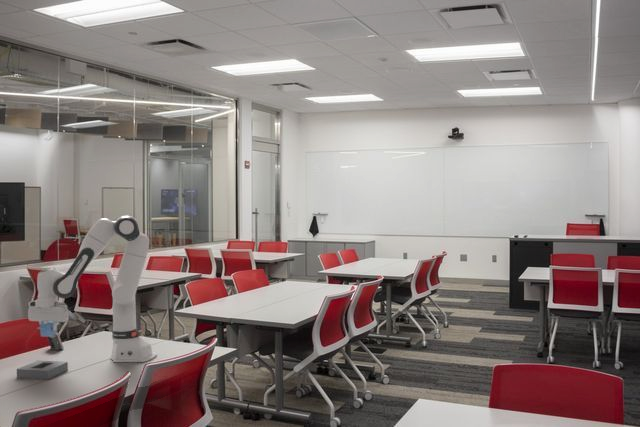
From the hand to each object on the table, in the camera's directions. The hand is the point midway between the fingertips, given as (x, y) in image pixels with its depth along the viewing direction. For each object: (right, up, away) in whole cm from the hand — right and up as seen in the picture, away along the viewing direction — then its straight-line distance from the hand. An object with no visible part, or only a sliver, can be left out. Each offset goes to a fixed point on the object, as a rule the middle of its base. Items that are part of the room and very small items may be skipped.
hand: (49, 330), depth 283 cm
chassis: (+4, -17, -15) cm, 23 cm away
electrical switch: (-10, -16, +29) cm, 35 cm away
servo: (0, -2, 0) cm, 2 cm away
